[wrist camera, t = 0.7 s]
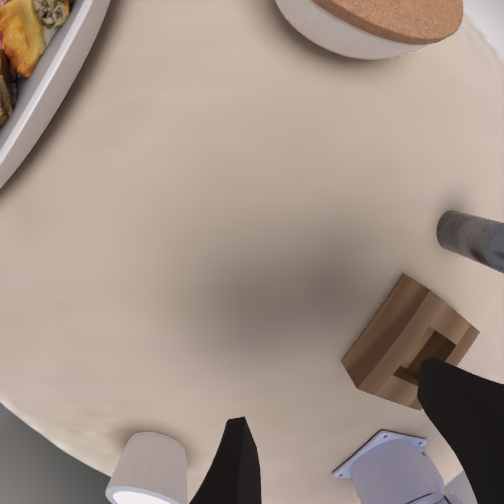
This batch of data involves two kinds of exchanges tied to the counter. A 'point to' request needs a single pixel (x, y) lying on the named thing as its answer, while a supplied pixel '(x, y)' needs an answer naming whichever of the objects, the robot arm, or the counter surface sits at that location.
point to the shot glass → (150, 472)
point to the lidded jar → (373, 24)
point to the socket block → (407, 343)
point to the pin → (473, 238)
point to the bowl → (39, 67)
